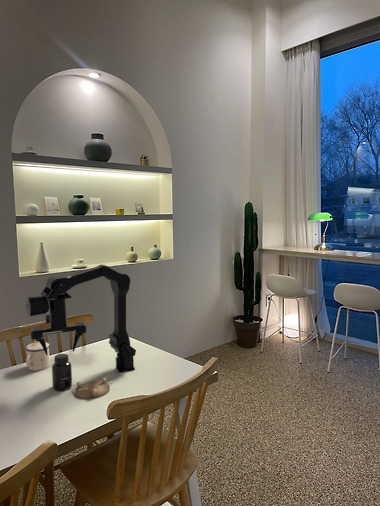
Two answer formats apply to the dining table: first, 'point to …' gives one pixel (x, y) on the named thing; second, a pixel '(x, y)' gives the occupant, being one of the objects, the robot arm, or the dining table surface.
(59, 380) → the supplement bottle
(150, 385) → the dining table surface
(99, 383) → the dowel base
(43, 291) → the robot arm
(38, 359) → the teacup with lid
